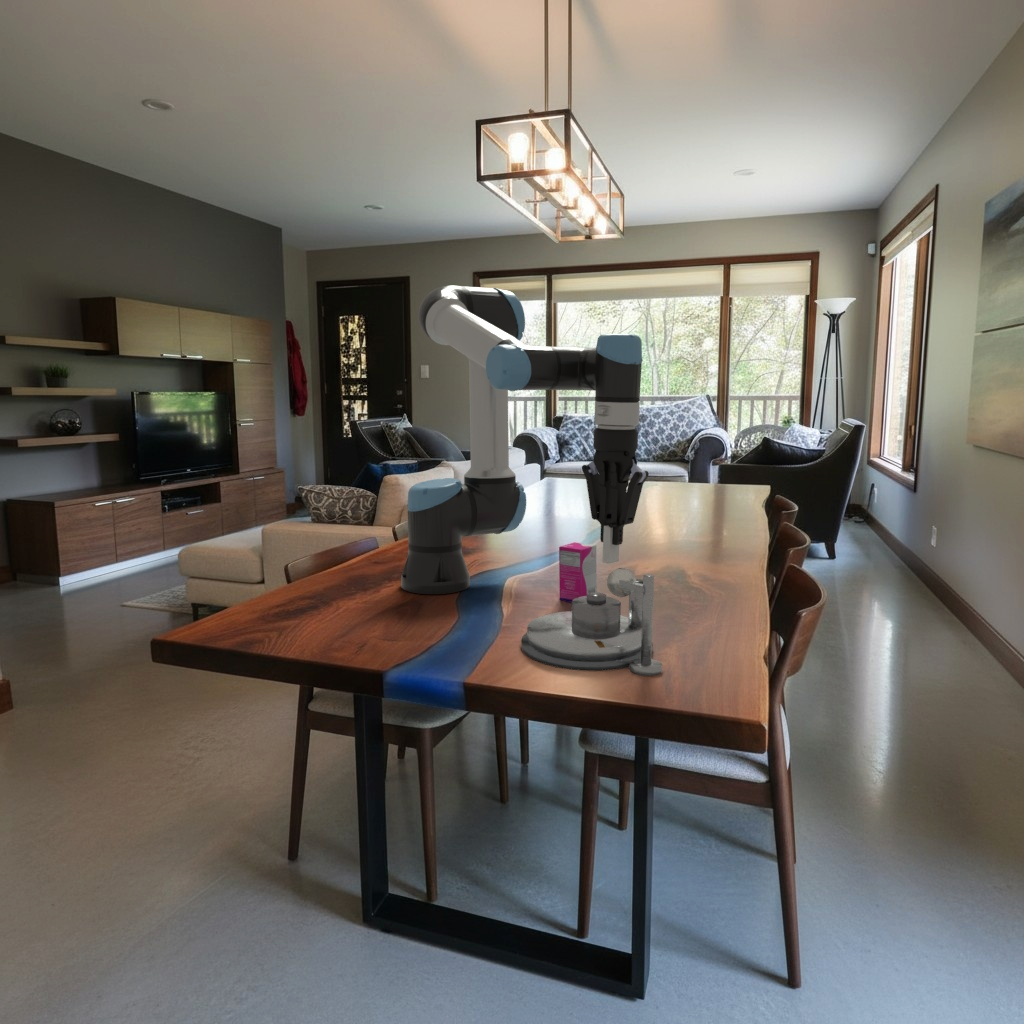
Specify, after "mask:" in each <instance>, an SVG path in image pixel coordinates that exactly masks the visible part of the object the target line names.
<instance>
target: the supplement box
mask: <svg viewBox="0 0 1024 1024" xmlns="http://www.w3.org/2000/svg"><path fill="white" fill-rule="evenodd" d="M558 552H559V553H558V555H559V556H558V558H559V559H558V565H559V568H558V569H559V573H558V575H559V576H558V577H559V579H558V581H559V582H558V583H559V584H558V585H559V600H560V601H564V602H569V603H572V600H573V599H575V598H578V597H582V596H587V594H588V593H595V592H596V593H598V592H597V588H598V587H597V584H598V583H597V544H590V543H581V542H570V543H567V544H565V545H564V544H563V545H560V546H559V547H558Z"/></svg>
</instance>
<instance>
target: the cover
mask: <svg viewBox="0 0 1024 1024" xmlns="http://www.w3.org/2000/svg"><path fill="white" fill-rule="evenodd" d="M571 611H572V633H573V634H575V635H577V636H580V637H583V638H589V639H607V638H613V637H616V636H618V635H619V634H620V615H621V616H622V614H621V613H622V604H621V601H620V600H619V599H617V598H614V597H610V596H607V594H606V593H604V592H597V593H596V592H595V593H588V594H587V596H582V597H578V598H575V599H573V600H572V602H571Z"/></svg>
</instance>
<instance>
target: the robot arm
mask: <svg viewBox="0 0 1024 1024" xmlns="http://www.w3.org/2000/svg"><path fill="white" fill-rule="evenodd" d="M417 315H418V316H417V317H418V323H419V327H420V328H421V330H422V332H423V333H424V334H425V336H426V337H428V338H429V339H430V340H431V341H434V343H436V344H438V345H440V346H441V345H442V346H449V347H451V348H453V349H455V350H456V351H457V352H459V353H460V354H462V355H463V356H466V358H467V359H468V380H469V381H468V382H469V383H468V384H469V385H468V386H469V390H468V392H469V393H468V394H469V432H470V433H469V436H470V438H469V440H470V441H469V445H470V447H469V449H470V452H469V453H470V467H469V469H468V470H467V471H466V472H465V473H464V474H463V481H464V482H463V483H464V484H463V483H462V481H461V480H460V479H459V478H454V477H453V478H451V477H449V478H447V477H446V478H436V479H435V478H434V479H430V480H425V481H421V482H418V483H415V484H413V485H412V486H411V487H410V488H409V489H408V491H407V505H406V510H407V534H408V535H407V542H408V554H407V557H406V560H405V563H404V566H403V569H402V572H401V573H402V574H401V577H400V588H401V589H402V590H404V591H406V592H409V593H412V594H413V593H414V594H419V595H444V594H445V595H446V594H453V593H454V594H455V593H459V592H462V591H464V590H466V589H468V588H469V587H470V586H471V577H470V576H471V575H470V572H469V569H468V566H467V563H466V561H465V557H464V554H463V552H462V551H463V550H462V547H463V546H462V544H463V543H462V541H463V540H462V538H464V537H473V536H481V535H490V534H495V535H500V534H502V533H507V532H508V533H509V532H513V531H515V530H516V529H518V527H519V526H520V524H521V523H522V522H523V520H524V517H525V514H526V510H527V495H526V492H524V491H525V488H524V486H523V484H521V483H520V482H519V481H517V480H516V477H517V476H516V473H515V472H514V471H513V470H512V469H511V468H510V467H509V466H510V461H509V457H510V455H509V454H510V453H509V449H510V448H509V446H510V445H509V391H510V392H515V391H517V392H518V391H579V392H580V391H594V392H595V393H594V394H595V395H594V396H595V397H594V421H593V423H594V425H596V426H597V427H595V428H594V430H593V440H592V441H593V443H592V444H593V449H594V450H595V453H594V455H593V457H592V461H591V462H589V463H588V464H583V465H582V466H581V470H582V473H583V475H584V477H585V481H586V488H587V494H588V501H589V508H590V514H591V518H592V520H596V521H597V522H599V524H600V538H599V539H600V542H601V543H602V560H601V561H602V563H604V564H609V565H611V564H613V563H618V562H619V561H620V560H619V559H620V558H619V557H620V546H621V545H622V544H623V541H624V540H623V539H624V537H623V536H624V527H625V526H626V525H629V524H633V523H634V521H635V517H636V514H637V510H638V505H639V501H640V498H641V494H642V490H643V485H644V484H645V482H646V481H647V479H648V477H649V471H648V470H642V469H641V468H640V466H638V459H637V457H636V452H637V450H638V447H639V446H638V444H639V431H638V429H637V428H636V427H638V426H639V425H640V406H641V405H640V399H641V398H640V397H641V384H642V383H641V382H642V380H641V379H642V365H643V361H644V360H643V349H642V346H643V342H642V339H641V337H640V336H639V335H637V334H631V333H630V334H629V333H627V334H626V333H603V334H601V335H599V336H598V337H597V341H596V347H583V346H582V347H580V346H574V347H573V346H549V345H547V346H546V345H531V344H527V343H525V342H523V341H522V338H523V336H524V334H523V333H524V332H525V330H526V329H525V328H526V317H525V311H524V307H523V305H522V302H521V301H520V299H519V297H518V296H517V295H516V294H515V293H513V292H512V291H510V290H506V289H500V288H497V287H483V286H482V287H479V286H465V285H464V286H463V285H454V284H453V285H452V284H451V285H444V286H439V287H436V288H435V289H433V290H431V291H430V292H429V293H427V295H426V296H425V297H424V298H423V299H422V301H421V303H420V304H419V308H418V314H417Z"/></svg>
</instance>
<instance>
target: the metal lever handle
mask: <svg viewBox="0 0 1024 1024" xmlns="http://www.w3.org/2000/svg"><path fill="white" fill-rule="evenodd" d="M636 579H637V578H636V576H635V574H634V573H633V572H632V571H631V570H630V569H628V568H626V567H618V568H616V569H614V570H613V571H610V573H609V574H608V576H607V578H606V585H607V588H608V591H610V592H611V594H612V595H614V596H616V597H619V598H623V597H627V596H628V597H629V594H630V593H632V592H633V591H638V592H642V593H643V602H642V635H641V658H638V659H634V660H631V661H630V664H629V667H628V669H629V671H630V672H631V673H632V674H633V675H637V676H643V677H654V676H659V675H660V674H662V672H663V663H662V662H661V661H659V660H656V659H654V658H652V655H651V653H652V654H653V652H652V644H653V620H654V619H653V617H654V616H653V615H654V591H655V590H654V589H655V588H654V587H655V585H654V583H655V575H653V574H643V575H642V580H643V584H640V583H636Z"/></svg>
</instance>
